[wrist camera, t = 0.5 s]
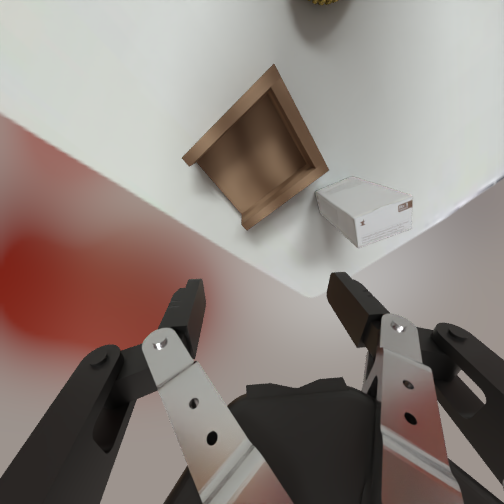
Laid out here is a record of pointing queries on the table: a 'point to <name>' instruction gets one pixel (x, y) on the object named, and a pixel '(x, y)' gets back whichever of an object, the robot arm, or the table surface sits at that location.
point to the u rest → (259, 150)
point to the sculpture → (323, 1)
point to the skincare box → (365, 210)
